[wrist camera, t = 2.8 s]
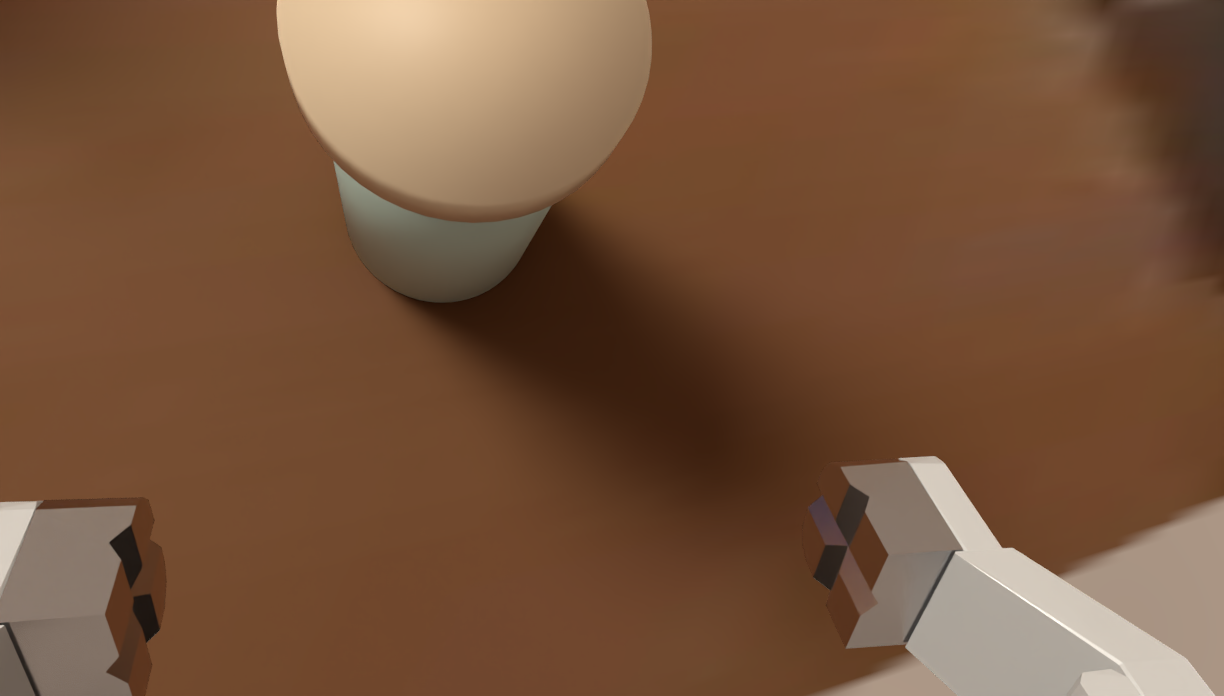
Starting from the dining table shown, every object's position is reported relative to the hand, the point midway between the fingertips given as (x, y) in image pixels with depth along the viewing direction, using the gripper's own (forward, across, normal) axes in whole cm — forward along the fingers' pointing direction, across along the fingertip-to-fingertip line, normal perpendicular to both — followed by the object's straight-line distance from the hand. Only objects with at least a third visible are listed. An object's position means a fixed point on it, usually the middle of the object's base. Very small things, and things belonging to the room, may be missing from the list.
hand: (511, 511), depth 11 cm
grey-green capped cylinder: (+13, 0, +3) cm, 13 cm away
